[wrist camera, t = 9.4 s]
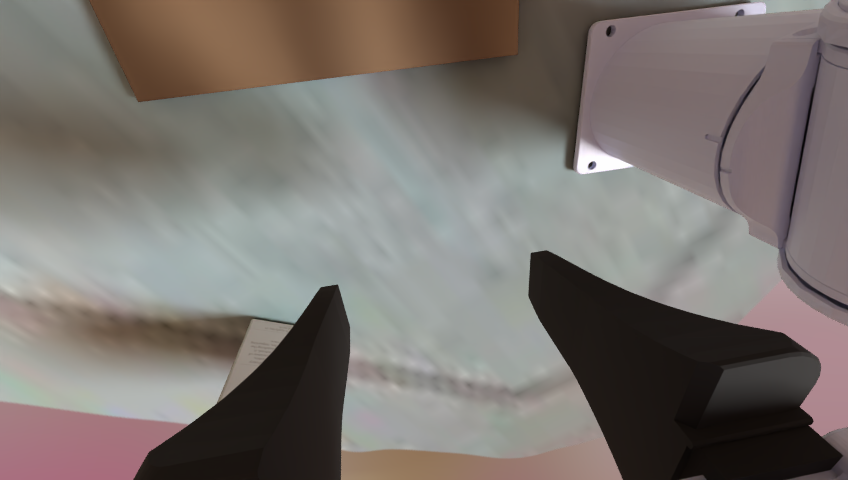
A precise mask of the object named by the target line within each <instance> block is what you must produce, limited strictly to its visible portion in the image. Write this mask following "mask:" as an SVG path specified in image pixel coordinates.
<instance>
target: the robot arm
mask: <svg viewBox="0 0 848 480" xmlns="http://www.w3.org/2000/svg"><path fill="white" fill-rule="evenodd" d="M736 12H738V13H737V16H735V14H736ZM765 12H766V5H765V3H764V2H753V3H745V4H736V5H728V6H720V7H711V8H703V9H695V10H687V11H678V12H670V13H662V14H654V15H645V16H637V17H629V18H620V19H612V20H604V21H598V22H595V23H594V24H593V25H592V26H591V28H590V29H589V33H588V40H587V49H586V58H585V67H584V76H583V85H582V94H581V103H580V111H579V120H578V129H577V138H576V147H575V156H574V165H573V168H574V171H575V172H577V173H579V174H588V173H595V172H602V171H608V170H615V169H622V168H628V167H637V168H639V169H641V170H643V171H646V172H648V173H650V174H652V175H655V176H657V177H659V178H661V179H663V180H666V181H668V182H670V183H672V184H674V185H677V186H679V187H681V188H683V189H685V190H688V191H690V192H692V193H694V194H697V195H699V196H701V197H703V198H705V199H708V200H710V201H712V202H714V203H716V204H719V205H721V206H723V207H725V208H727V209H730V210H732V211H734V212H736V213H739V214H740V215H742V216H743V217H744V218H745V219H746V220H747V222H748V225H749V234H750V235H752V236H754V237H756V238H758V239H760V240H762V241H764V242H766V243H768V244H770V245H772V246H774V247H776V248H778V249H779V253H778V270H779V273H780V275H781V278H782V280H783V281H784V282H785V284H786V285H787V287H788V288H789V289H790V290H791V291H792V292H793V293H794V294H795V295H796V296H797V297H798V298H799V299H801V300H802V301H803V302H805V303H806V304H807V305H809V306H810V307H812V308H813V309H815V310H817V311H818V312H820V313H822V314H824V315H825V316H827V317H829V318H831V319H833V320H835V321H837V322H840V323H842V324H844V325H846V326H848V0H831V1H830V2H829V3H828V4H827V5H825V7H824V9H814V10H803V11H791V12H779V13H767V14H765ZM609 26H610V27H611V33H610V35H609V36H608V37H607V35H606V30H607V28H608V27H609ZM592 161H593V164H592V166H591V167H589V168H588V164H589V163H590V162H592ZM528 296H529V299H530V301H531V303H532V305H533V308H534V310H535V312H536V314H537V316H538V318H539V320H540V322H541V323H542V325H543V326H544V328H545V330H546V331H547V333H548V334H549V336H550V337H551V339H552V341H553V342H554V344H555V345H556V347H557V348H558V350H559V351H560V353H561V355H562V356H563V358H564V359H565V361H566V362H567V364H568V365H569V367H570V369H571V370H572V372H573V374H574V375H575V377H576V379H577V381H578V383H579V385H580V387H581V389H582V391H583V393H584V395H585V397H586V399H587V401H588V403H589V405H590V407H591V409H592V411H593V413H594V415H595V417H596V420H597V422H598V424H599V426H600V428H601V430H602V432H603V435H604V437H605V439H606V441H607V444H608V446H609V448H610V450H611V452H612V455H613V457H614V459H615V462H616V464H617V466H618V469H619V471H620V473H621V475H622V478H623V480H848V427H847V428H842V429H837V430H835V431H832V432H829V433H827V434H826V435H824V436H823V437H821V436H820V435H819V434H818V433H816V432H815V431H814V430H813V429H812V428H811V427H810V426H808V425H811V424H812V423H813V419H812V417H811V416H810V415H808V414H807V413H806V412H805V411H804V410H802V409H801V408H800V405H801V404H802V403H803V401H804V400H805V398H806V397H807V395H808V394H809V392H810V391H811V389H812V388H813V387H814V385H815V384H816V382H817V380H818V378H819V376H820V371H821V364H820V361H819V359H818V358H817V357H816V356H815V355H813V354H812V353H811V352H809V351H808V350H806V349H805V348H803V347H802V346H801V345H799V344H798V343H796V342H795V341H794V340H792V339H791V338H789V337H788V336H787V335H785V334H783V333H781V332H775V331H770V330H765V329H759V328H754V327H748V326H743V325H738V324H733V323H729V322H725V321H721V320H716V319H712V318H708V317H704V316H701V315H697V314H693V313H690V312H686V311H683V310H680V309H676V308H673V307H670V306H667V305H664V304H661V303H658V302H655V301H652V300H650V299H647V298H644V297H642V296H639V295H637V294H634V293H632V292H629V291H627V290H624V289H622V288H620V287H618V286H616V285H613V284H611V283H609V282H607V281H605V280H603V279H601V278H599V277H597V276H595V275H593V274H591V273H589V272H587V271H585V270H583V269H581V268H579V267H578V266H576V265H574V264H572V263H570V262H568V261H567V260H565V259H563V258H561V257H559V256H557V255H555V254H553V253H551V252H549V251H547V250H546V251H540V252H534V253H531V259H530V277H529V294H528ZM349 356H350V325H349V322H348V318H347V315H346V311H345V308H344V304H343V301H342V297H341V294H340V290H339V287H338V285H332V286H326V287H321V288H320V289H319V291H318V292H317V293H316V295H315V296H314V298H313V299H312V301H311V302H310V304H309V305H308V306H307V308H306V309H305V311H304V312H303V314H302V315H301V316H300V318H299V319H298V320H297V322H296V323H295V325H294V326H293V327H292V329H291V330H290V331H289V332H288V334H287V335H286V336H285V337H284V339H283V340H282V341H281V342H280V343H279V345H278V346H277V347H276V348H275V349H274V351H273V352H272V353H271V354H270V355H269V356H268V357H267V358H266V359H265V360H264V361H263V362H262V363H261V364H260V365H259V366H258V367H257V368H256V369H255V370H254V371H253V372H252V373H251V374H250V375H249V376H248V377H247V378H246V379H245V380H244V381H242V382H241V383H240V384H239V385H238V386H237V387H236V388H235V389H234V390H232V391H231V392H230V393H229V394H228V395H227V396H226V397H224V398H223V399H222V400H221V401H219V402H218V403H217V404H216V405H215V406H213V407H212V408H211V409H209V410H208V411H207V412H206V413H204V414H203V415H202V416H200V417H199V418H198V419H196V420H195V421H194V422H192V423H191V424H190V425H188V426H187V427H185V428H184V429H183V430H181V431H180V432H178V433H177V434H175V435H174V436H172V437H171V438H169V439H168V440H166V441H165V442H163V443H162V444H161V445H159V446H158V447H156V448H155V449H153V450H151V451H150V452H149V453H148V455H147V457H146V458H145V460H144V462H143V464H142V465H141V467H140V469H139V470H138V472H137V474H136V476H135V478H134V480H341V432H342V413H343V404H344V396H345V388H346V381H347V373H348V364H349Z"/></svg>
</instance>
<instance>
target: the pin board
mask: <svg viewBox="0 0 848 480" xmlns="http://www.w3.org/2000/svg"><path fill="white" fill-rule="evenodd" d="M89 1H90V3H91V5H92V7H93V9H94V11H95V13H96V16H97V18H98V20H99V22H100V24H101V26H102V28H103V30H104V32H105V34H106V36H107V38H108V40H109V42H110V45H111V47H112V49H113V51H114V53H115V55H116V57H117V59H118V61H119V63H120V65H121V67H122V69H123V71H124V74H125V76H126V78H127V80H128V82H129V84H130V86H131V88H132V90H133V92H134V94H135V96H136V98H137V100H138V102H142V101H150V100H158V99H166V98H174V97H182V96H190V95H198V94H206V93H214V92H222V91H230V90H238V89H246V88H254V87H262V86H270V85H278V84H286V83H294V82H302V81H310V80H318V79H326V78H334V77H342V76H350V75H358V74H366V73H374V72H382V71H390V70H398V69H406V68H414V67H422V66H430V65H438V64H446V63H454V62H462V61H470V60H478V59H485V58H493V57H501V56H509V55H517V54H518V20H519V0H89Z"/></svg>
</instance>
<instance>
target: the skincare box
mask: <svg viewBox="0 0 848 480" xmlns="http://www.w3.org/2000/svg"><path fill="white" fill-rule="evenodd" d="M293 326H294V325H289V324H282V323H276V322H270V321H264V320H258V319H252V320H251V321H250V325H249V327H248V329H247V332H246V334H245V337H244V339H243V342H242V344H241V346H240V349H239V351H238V354H237V356H236V358H235V361H234V363H233V366H232V368H231V370H230V373H229V375H228V378H227V380H226V383H225V385H224V387H223V390H222V392H221V395H220V397H219V399H218V402H219V401H221V400H222V399H223V398H224V397H226V396H227V395H228V394H229V393H230V392H231V391H232V390H234V389H235V388H236V387H237V386H238V385H239V384H240V383H241V382H242V381H244V380H245V379H246V378H247V377H248V376H249V375H250V374H251V373H252V372H253V371H254V370H255V369H256V368H257V367H258V366H259V365H260V364H261V363H262V362H263V361H264V360H265V359H266V358H267V357H268V356H269V355H270V354H271V353H272V352H273V351H274V349H275V348H276V347H277V346H278V345H279V343H280V342H281V341H282V340H283V339H284V337H285V336H286V335H287V334H288V332H289V331H290V330H291V329H292V327H293ZM218 402H217V403H218Z"/></svg>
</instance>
